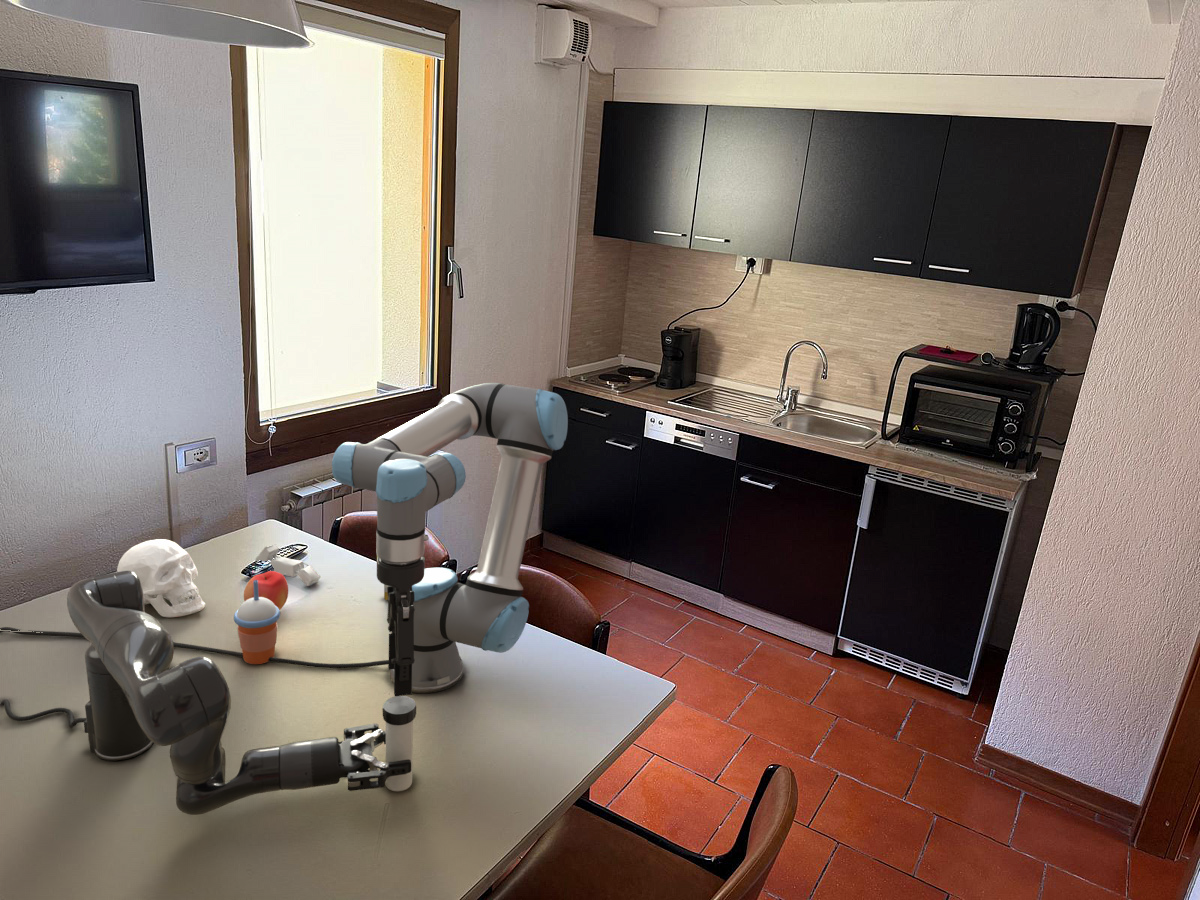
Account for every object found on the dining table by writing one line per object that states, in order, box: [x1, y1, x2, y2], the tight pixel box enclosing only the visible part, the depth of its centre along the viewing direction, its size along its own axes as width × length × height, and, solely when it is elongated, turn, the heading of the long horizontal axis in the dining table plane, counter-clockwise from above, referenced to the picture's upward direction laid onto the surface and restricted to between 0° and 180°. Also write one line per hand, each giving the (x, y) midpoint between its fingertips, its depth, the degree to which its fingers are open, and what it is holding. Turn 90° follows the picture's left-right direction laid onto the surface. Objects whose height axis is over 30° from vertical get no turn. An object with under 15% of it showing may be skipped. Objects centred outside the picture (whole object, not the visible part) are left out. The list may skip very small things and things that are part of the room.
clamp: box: [254, 544, 322, 587], centre depth 219 cm, size 20×4×7 cm, turn 62°
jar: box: [385, 720, 414, 792], centre depth 147 cm, size 4×4×15 cm
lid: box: [382, 695, 417, 725], centre depth 145 cm, size 6×6×2 cm
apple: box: [243, 570, 289, 611], centre depth 199 cm, size 10×10×10 cm
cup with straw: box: [233, 580, 281, 665], centre depth 181 cm, size 9×9×18 cm
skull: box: [116, 538, 206, 618], centre depth 199 cm, size 13×22×16 cm, turn 73°
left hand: (408, 750), depth 148 cm, fingers open, 8 cm apart
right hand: (399, 680), depth 143 cm, fingers open, 7 cm apart
